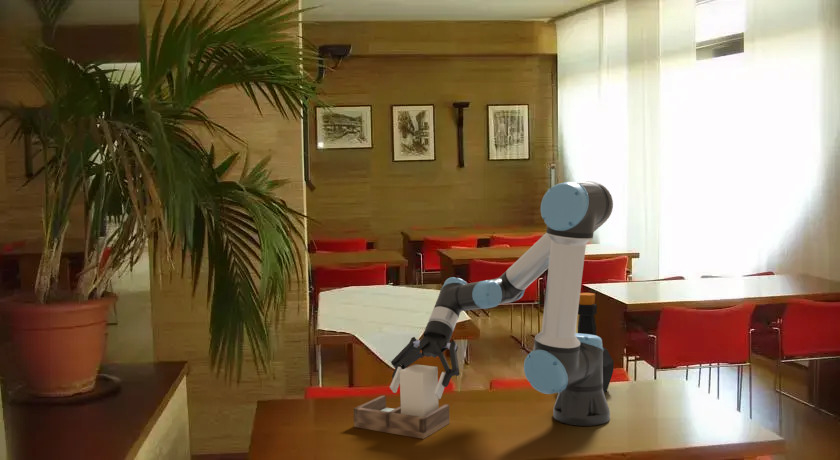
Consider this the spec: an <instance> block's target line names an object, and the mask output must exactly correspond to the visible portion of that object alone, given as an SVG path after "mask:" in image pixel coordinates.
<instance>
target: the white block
mask: <svg viewBox="0 0 840 460" xmlns="http://www.w3.org/2000/svg"><path fill="white" fill-rule="evenodd" d="M438 367H439V366H433V365H432V366H431V365H426V364H425V365H424V364H418V363H417V364H411V365H409V366H408V367H407V368H405V369H403V370H401V371H400V384H399V391H400V395H399V396H400V399H399V400H400V406H401V414H405V415H412V416H418V417H424V416H425V415H427V414H429V413H431V412H433V411H434V410H436V409H438V408H440V407H439V399H438V398H437V397H436V396H435V394H434V392H435V390H436V387H437V384H438V382H439V375H438V374H439V372H438V371H439V370H438V369H439V368H438Z"/></svg>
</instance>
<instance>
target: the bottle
mask: <svg viewBox="0 0 840 460" xmlns="http://www.w3.org/2000/svg"><path fill="white" fill-rule="evenodd" d="M595 301H596V293H593V292H580V299H579V307H578V319H577V333H581V334H590V335H596V336H597V323H596V317H595V315H597V314H598V313H597V311H598V310H597V309H598V307H597V306H598V305H597V303H595ZM614 363H615V361H614V360H613V358H612V357H611V354H610V353H609V351H608V349H607V348H605V347H604V346H603V392H604V393H606V392H607V391H608V390H609V386H610V382H611V380H612V377H613V373H614Z"/></svg>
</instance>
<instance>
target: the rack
mask: <svg viewBox="0 0 840 460" xmlns="http://www.w3.org/2000/svg"><path fill="white" fill-rule="evenodd" d="M386 401H387V398H386V395H380V396H378V397H376V398H374V399H372V400H369V401H367V402H365V403H363V404H360V405H358V406H356V407H354V408H353V427H354V428H358V429H363V430H370V431H375V432H376V431H377V432H381V433H386V434H387V433H388V434H393V435H394V434H395V435H400V436H404V437H405V436H406V437H410V438H418V439H422V440H424V439H426V438H427V437H429V436H431V435H432V434H434V433H436V432H437V431H439V430H441V429H442V428H444V427H446V426H447V425H449V424H450V423H451V421H450V405H449V404H446V403H445V404H443V405H441V406H440V407H439V408H438V409H436V410H434V411H433V412H431V413H429V414H427V415H425V416H424V417H418V416H412V415H405V414H401V405H400V406H398V407H396V408H391V407H387V402H386Z"/></svg>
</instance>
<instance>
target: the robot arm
mask: <svg viewBox="0 0 840 460" xmlns="http://www.w3.org/2000/svg"><path fill="white" fill-rule="evenodd" d="M613 207H614V201H613V197H612V194H611V193H610V191H609V190H608V188H607V187H605V185H603V184H601V183H599V182H596V181H564V182H560V183H556V184H555V185H553V186H551V187H550V188H549V189H548V190H547V191H546V192H545V193H544V195H543V197H542V199H541V203H540V215H541V218H542V219H543V220H544V224H545V225H546V233H544V234H543V235H542V236H541V237H540V238H539V239H538V240H537V241H536V242H534V244H533V245H531V246H530V247H529V249H527V250H526V251H525V252H524V253H523V254H522V255H521V256H520V257H518V259H517V260H516V261H515V262H514V263H513V264H512V265H511V266H509V267H508V268H507V270H505V272H504V273H502V275H500V276H499V277H496V278H492V279H486V280H480V281H475V282H470V283H467V281H465V280H464V279H462V278H460V277H454V276H453V277H449V278H447V279H446V280H445V281H444V283H443V285H442V287H441V288H440V291H439V294H438V296H437V298H436V299H437V300H436V302H435V304H434V307H433V309H432V311H431V314H430V316H429V319H428V322H427V324H426V326H425V328H424V331H423V337H422V338H421V339H417V338H416V337H415V336H413V337H411V338H410V341H409V342H408V344H407V345H406V346H404V348H403V349H402V350H401V351H400V352H398V354H397V355H396V356H395V357H394V358H393V359H392V360H391V361H390V364H391V365H392V367H393V368H394V370H393V372H392V376H391V378H392V381H391V383H390V385H389V389H390V390H391V391H392V393H395V394H396V393H397V392H398V389H399V388H400V371H401V370H403V369H405V368H408V367H410V366H412V365H413V363H415V362H416V361H417V360H419V359H422V358H424V357H427V358H429V357H430V358H437V357H438V359H439V361H440V362H441V365H442V367H443V369H444V371H442V372H441V374H440V377H439V378H438V384H437V387H436V390H435V392H434V394H435V396H436V397H437V398H438V400H441V399H442V396H443V393H444V390H445V388H447V387H448V386H449V384H450V381H451V379H452V378H453V377H454V376H456V377H458V376H460V374H461V373H460V367H459V361H458V354H457V353H458V349H459V347H458V345H457V343H456V341H455V340H452V341H451V339H452V336H453V333H454V330H455V328H456V325H457V322H458V320H459V318H460V315H461V313H462V312H463V311H464V312H465V311H473V310H474V311H475V310H483V309H484V310H488V309H491V308H496V307H497V306H499V305H504V304H507V303H509V304H510V303H514V302H516V301H519V300H520V299H522V298H523V296H524V294H525V291H526V289H527V288H528V287H530V285H531V284H532V283H533V282H535V281H536V280H537V279H538V278H539V277H540V276H542V275H543V274H544V273H545V271H547V278H546V279H547V281H546V287H545V288H546V289H545V297H544V298H545V299H544V304H543V305H544V306H543V314H542V323H541V324H542V326H541V331H540V332H539V333H537V334H536V335H535V337H534V343H533V350H531V351H530V352H529V353H528V354H527V355H526V357H525V359H524V363H523V373H524V375H525V378H526V380H527V382H528V383H529V384H530V386H531V387H532V388H533V389H535V390H536V391H538V392H539V393H542V394H545V395H552V394H557V396H556V399H555V402H554V405H553V419H554V420H556V421H557V422H558V423H559V422H560V423H562V424H566V425H570V426H578V427H580V426H582V427H583V426H585V427H590V426H600V425H603V424H605V423H608V422H610V419H611V411H610V407H609V404H608V401H607V398H606V395H605V392H603V347H604V346H603V339H602V337H600V336H598V335H597V334H596V335H590V334H581V333H578V332H577V325H578V317H579V314H578V307H579V299H580V293H581V292H582V291H581V288H582V281H583V280H582V279H583V273H584V272H583V271H584V264H585V255H586V247H587V244H588V243H589V242H590V241H592V240H593V239H594V232H596V231H597V230H598V229H599V228H601V227H602V226H603V224H605V223H606V222H607V221H608V220H609V218H610V216H611V215H612V212H613ZM446 350H449V357H450V363H451V364H450V365H451V367H450V365H449V364H448V360H447V359H446V356H445V354H444V352H445V351H446Z"/></svg>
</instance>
